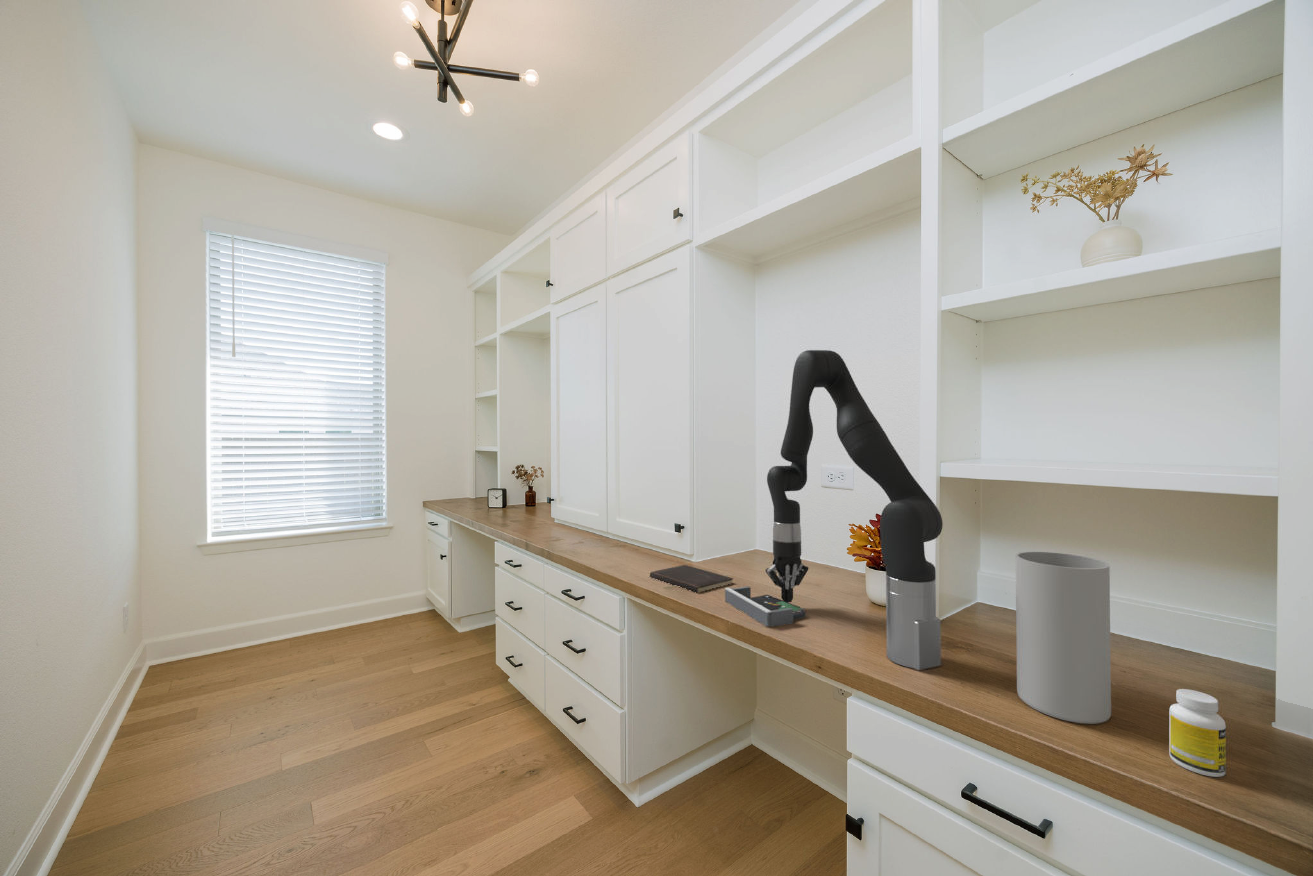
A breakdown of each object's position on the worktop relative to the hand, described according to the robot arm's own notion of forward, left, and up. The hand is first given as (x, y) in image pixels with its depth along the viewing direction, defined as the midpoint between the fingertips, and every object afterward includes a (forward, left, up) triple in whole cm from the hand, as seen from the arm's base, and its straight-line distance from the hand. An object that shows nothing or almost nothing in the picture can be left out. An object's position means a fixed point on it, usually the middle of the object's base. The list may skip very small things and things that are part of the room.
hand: (787, 601), depth 137 cm
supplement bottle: (-77, -13, -2) cm, 78 cm away
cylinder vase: (-60, -13, -2) cm, 62 cm away
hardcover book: (+34, +14, -2) cm, 37 cm away
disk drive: (-2, +6, -2) cm, 7 cm away
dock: (0, +10, -2) cm, 10 cm away
